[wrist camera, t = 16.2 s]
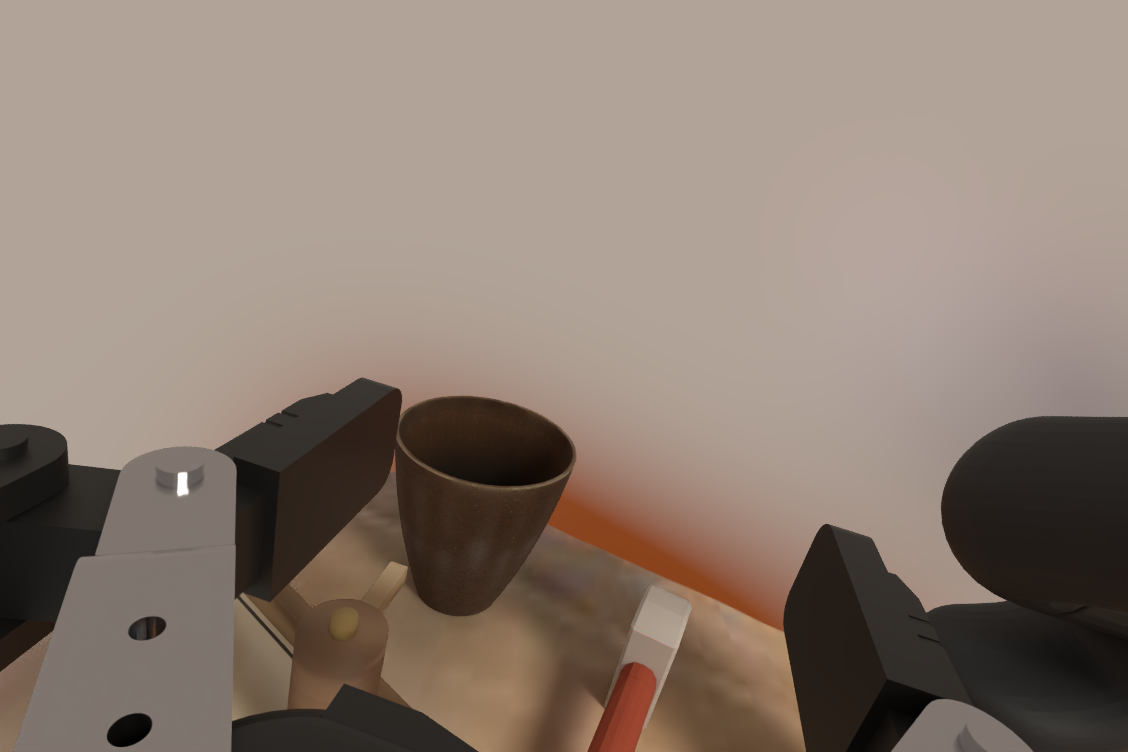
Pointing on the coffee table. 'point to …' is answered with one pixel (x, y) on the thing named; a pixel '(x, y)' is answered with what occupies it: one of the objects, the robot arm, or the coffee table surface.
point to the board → (270, 653)
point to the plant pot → (475, 494)
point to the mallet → (641, 670)
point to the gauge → (342, 644)
